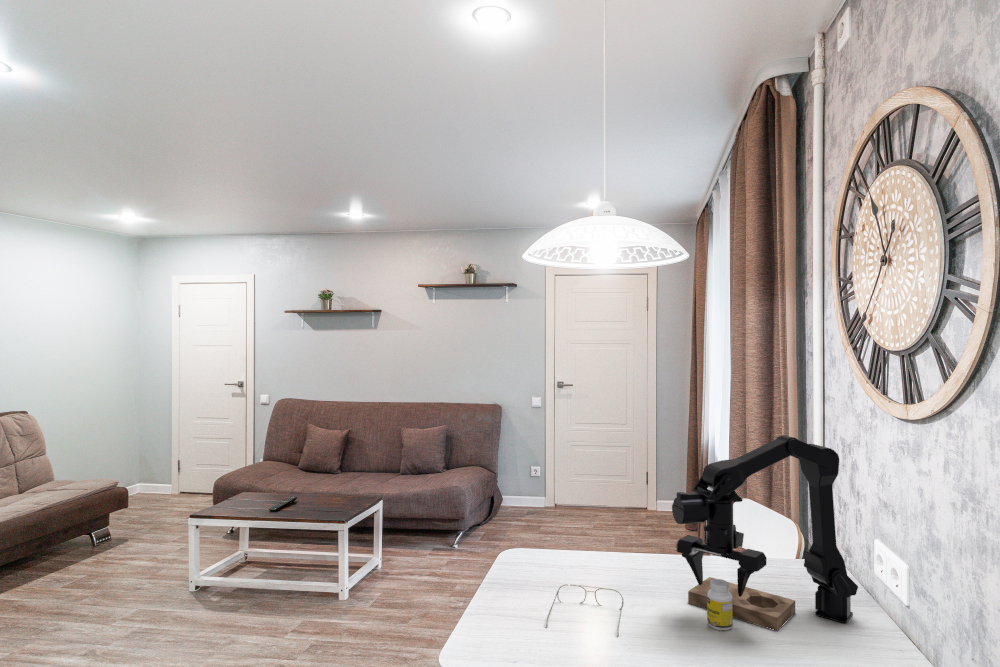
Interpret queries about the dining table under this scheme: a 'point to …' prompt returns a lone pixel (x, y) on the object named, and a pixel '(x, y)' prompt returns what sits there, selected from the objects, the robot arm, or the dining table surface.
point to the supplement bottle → (719, 605)
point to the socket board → (749, 604)
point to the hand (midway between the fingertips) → (720, 590)
